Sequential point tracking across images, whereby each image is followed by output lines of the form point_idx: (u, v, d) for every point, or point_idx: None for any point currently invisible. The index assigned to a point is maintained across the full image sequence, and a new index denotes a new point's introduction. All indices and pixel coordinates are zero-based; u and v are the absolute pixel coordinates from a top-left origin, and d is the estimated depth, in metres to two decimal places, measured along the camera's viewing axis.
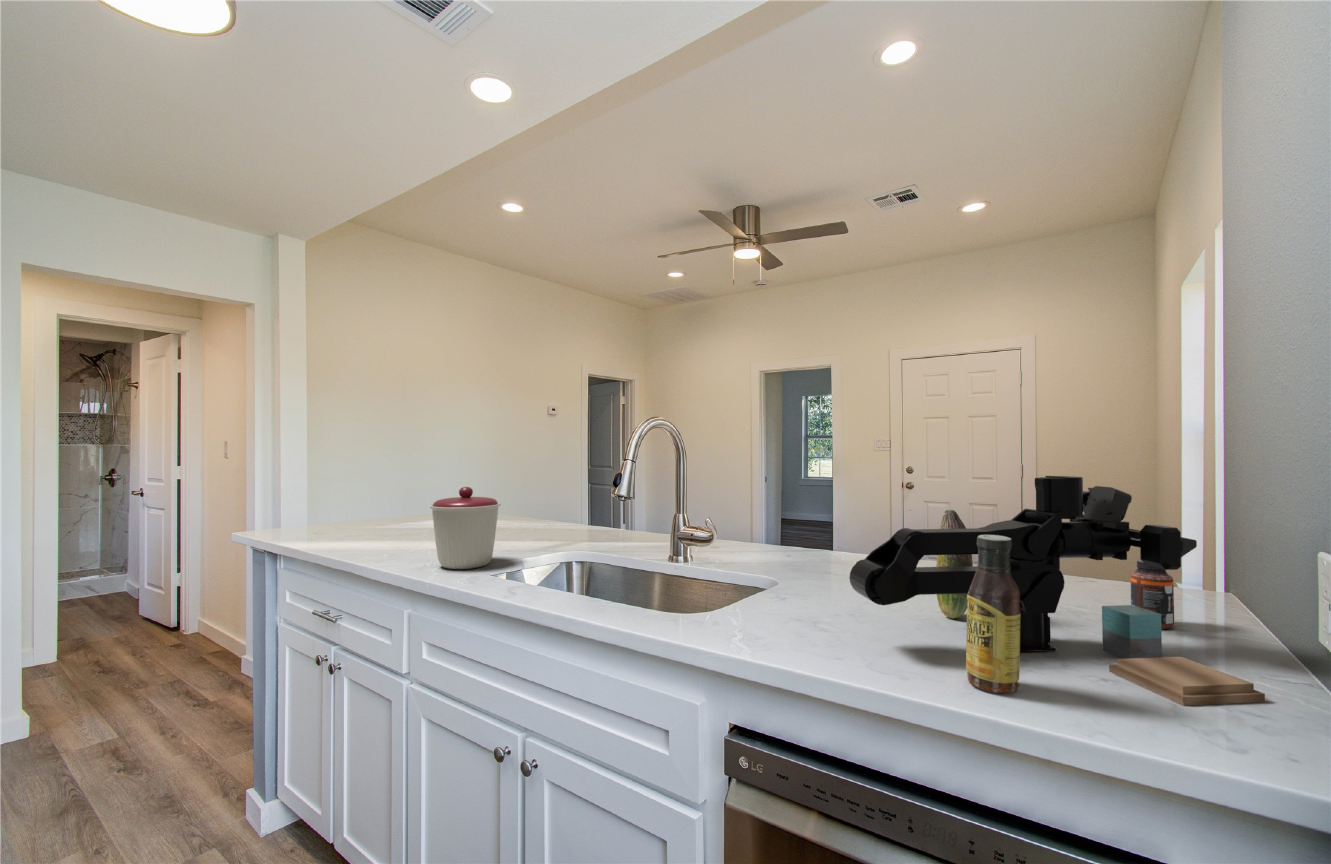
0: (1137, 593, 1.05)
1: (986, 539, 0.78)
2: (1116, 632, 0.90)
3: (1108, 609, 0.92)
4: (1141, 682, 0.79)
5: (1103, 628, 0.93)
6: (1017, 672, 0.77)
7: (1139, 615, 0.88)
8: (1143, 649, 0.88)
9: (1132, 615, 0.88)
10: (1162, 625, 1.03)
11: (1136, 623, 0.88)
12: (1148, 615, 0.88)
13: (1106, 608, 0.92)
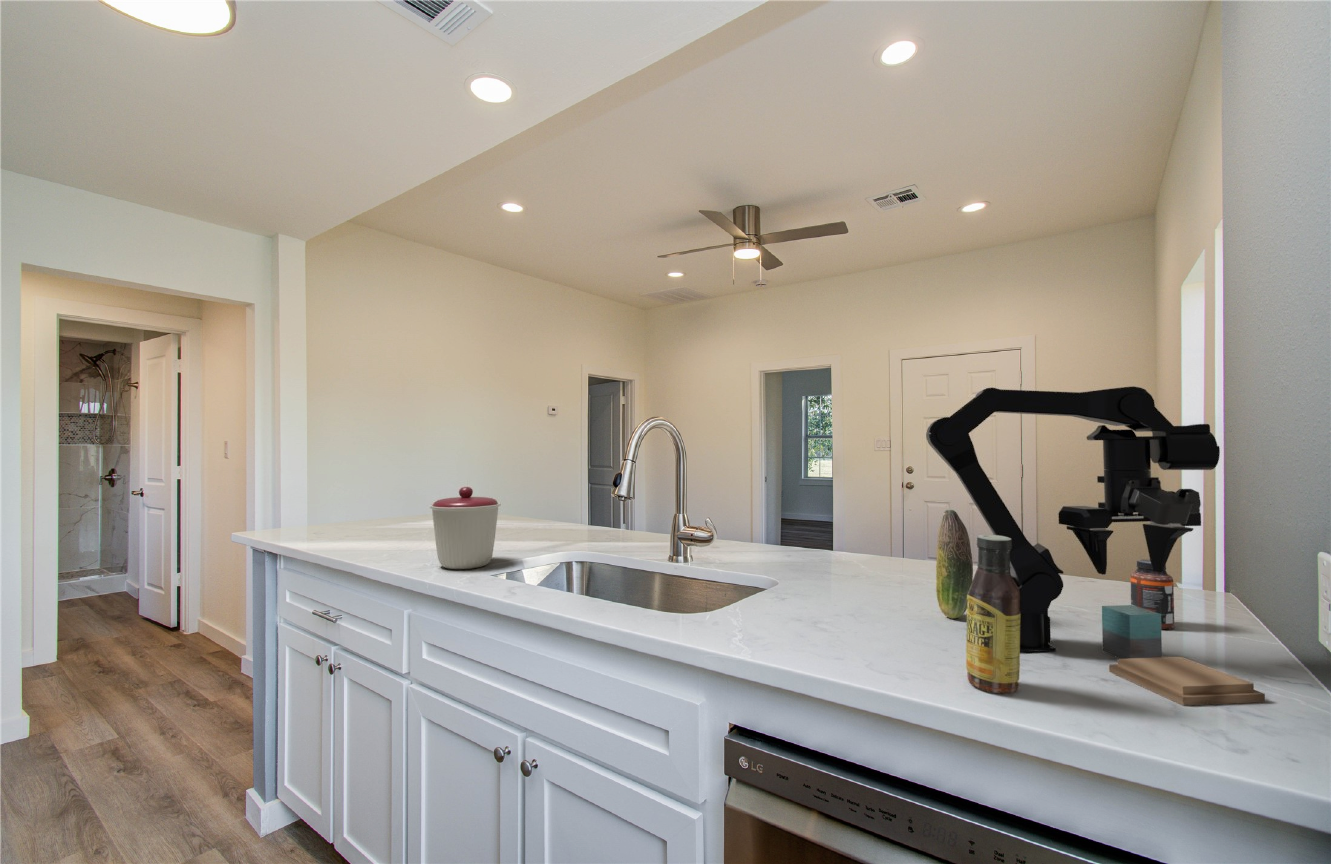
0: (1137, 593, 1.05)
1: (986, 539, 0.78)
2: (1116, 632, 0.90)
3: (1108, 609, 0.92)
4: (1141, 682, 0.79)
5: (1103, 628, 0.93)
6: (1017, 672, 0.77)
7: (1139, 615, 0.88)
8: (1143, 649, 0.88)
9: (1132, 615, 0.88)
10: (1162, 625, 1.03)
11: (1136, 623, 0.88)
12: (1148, 615, 0.88)
13: (1106, 608, 0.92)
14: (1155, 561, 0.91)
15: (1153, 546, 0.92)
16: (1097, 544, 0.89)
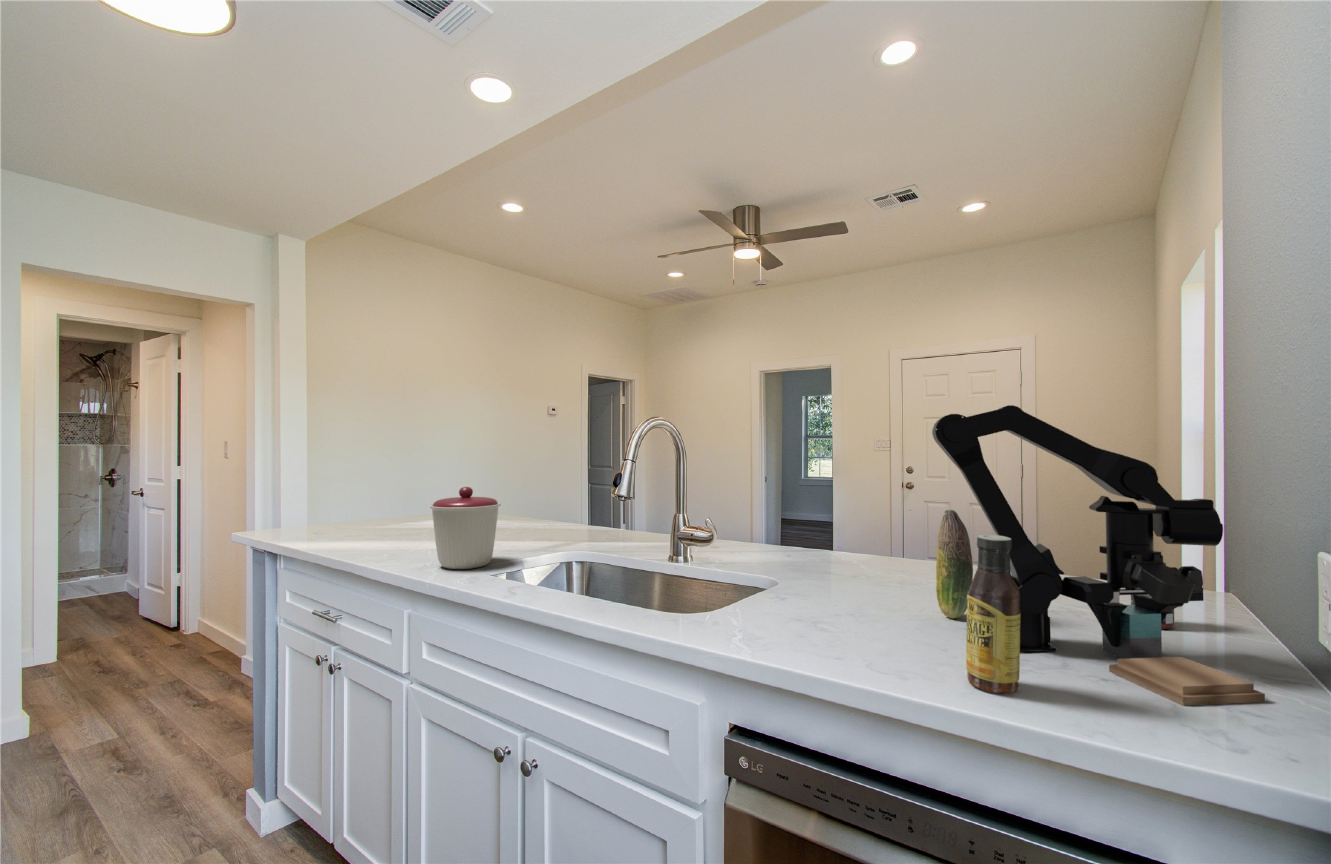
0: None
1: (986, 539, 0.78)
2: None
3: None
4: (1141, 682, 0.79)
5: None
6: (1017, 672, 0.77)
7: (1139, 615, 0.88)
8: (1143, 649, 0.88)
9: (1132, 615, 0.88)
10: (1162, 625, 1.03)
11: (1136, 623, 0.88)
12: (1148, 615, 0.88)
13: None
14: None
15: None
16: (1110, 617, 0.89)
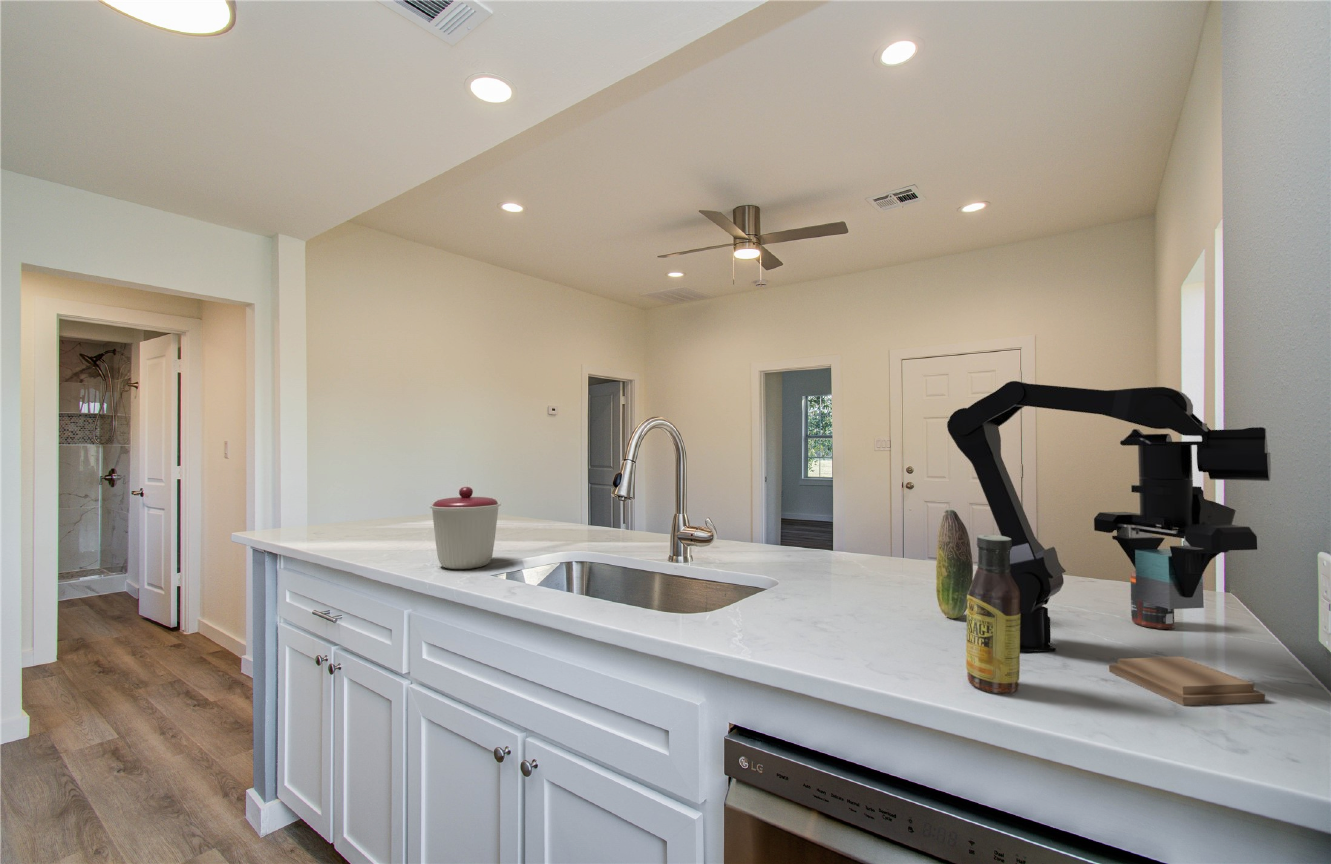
0: None
1: (986, 539, 0.78)
2: None
3: None
4: (1141, 682, 0.79)
5: (1168, 582, 0.80)
6: (1017, 672, 0.77)
7: None
8: None
9: None
10: (1162, 625, 1.03)
11: None
12: None
13: None
14: None
15: None
16: (1207, 563, 0.78)
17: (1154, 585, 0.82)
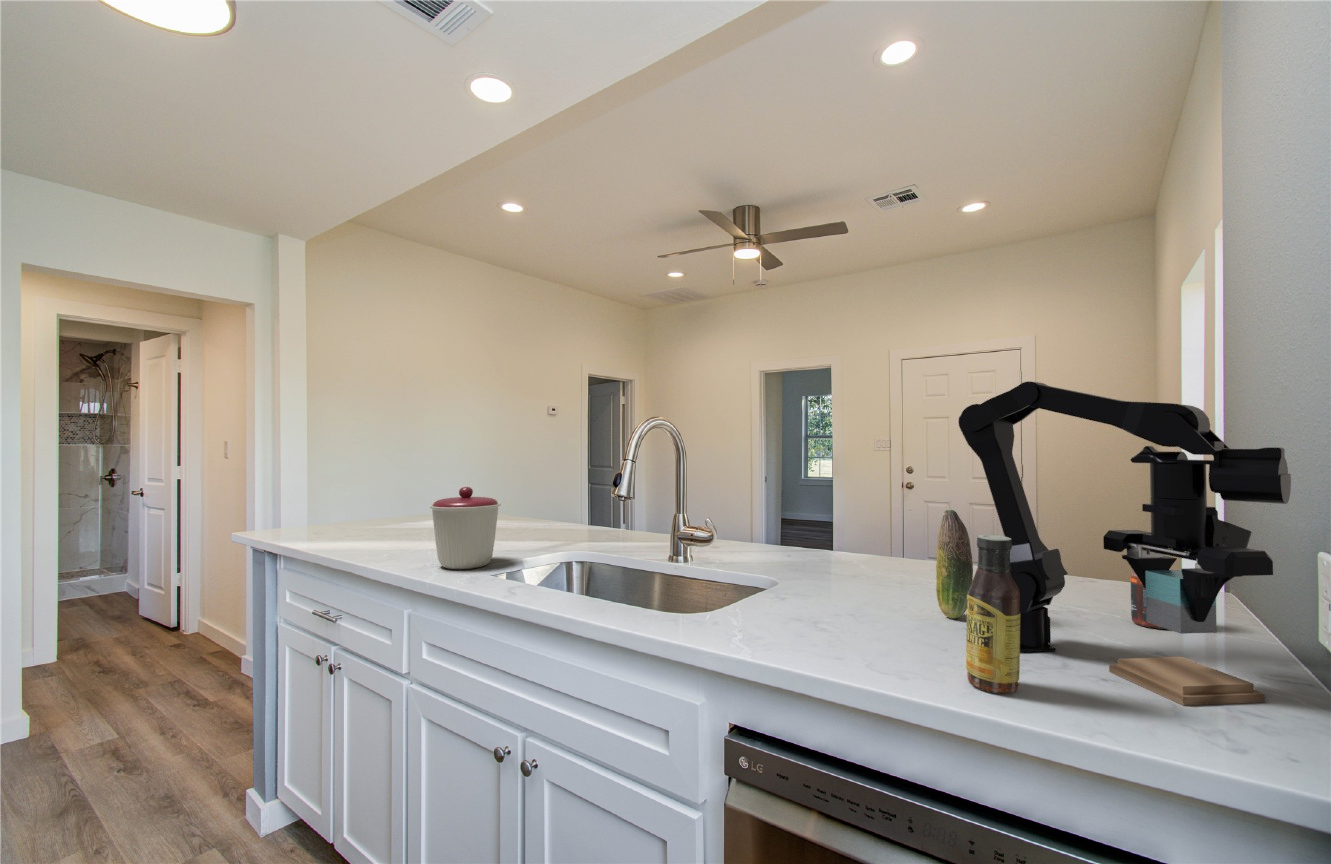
0: (1137, 593, 1.05)
1: (986, 539, 0.78)
2: None
3: None
4: (1141, 682, 0.79)
5: (1179, 605, 0.77)
6: (1017, 672, 0.77)
7: None
8: None
9: None
10: None
11: None
12: None
13: None
14: None
15: None
16: (1220, 587, 0.75)
17: (1164, 607, 0.79)
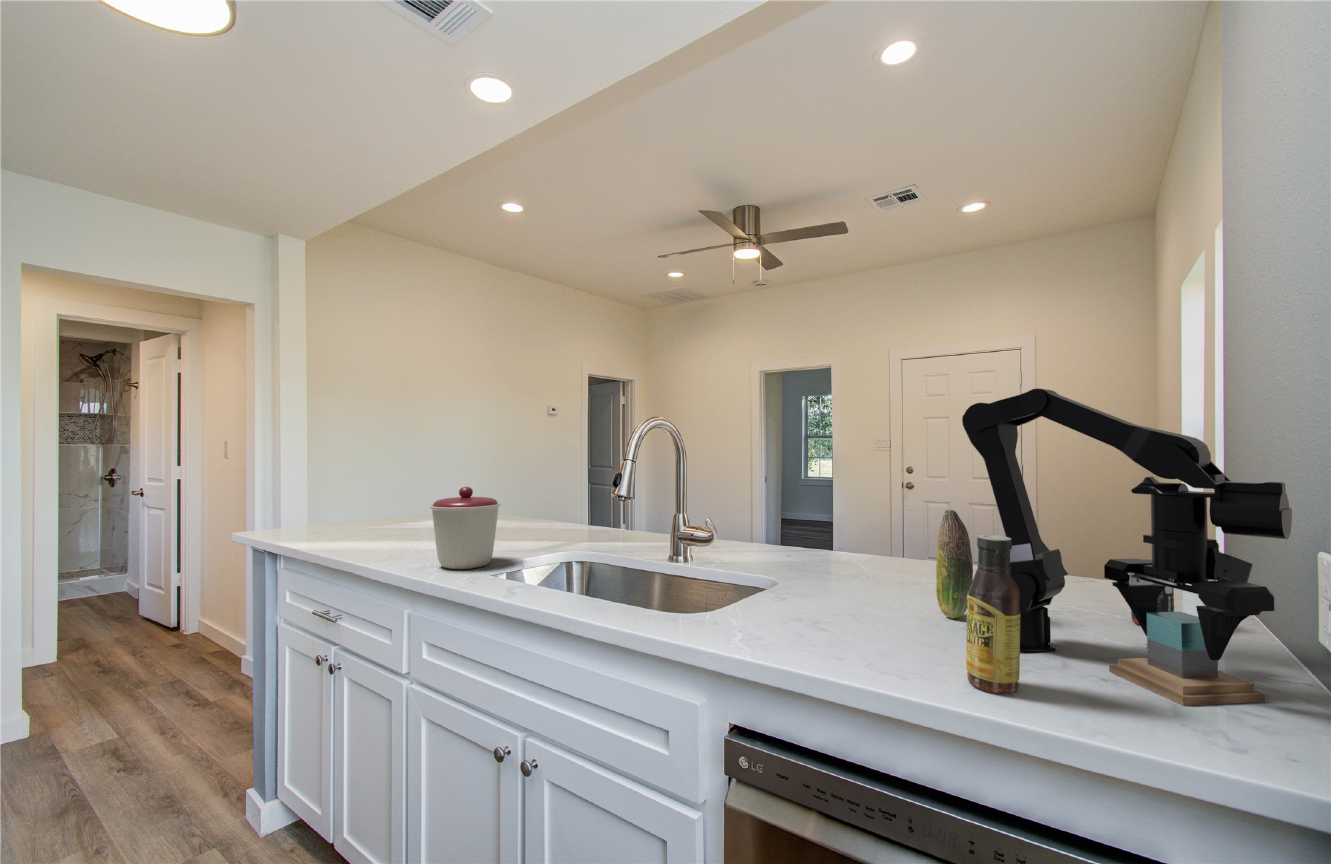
0: None
1: (986, 539, 0.78)
2: (1200, 648, 0.77)
3: (1190, 624, 0.77)
4: (1141, 682, 0.79)
5: (1181, 650, 0.77)
6: (1017, 672, 0.77)
7: None
8: None
9: None
10: None
11: None
12: None
13: (1187, 624, 0.77)
14: None
15: (1143, 609, 0.84)
16: (1236, 625, 0.73)
17: (1166, 651, 0.79)
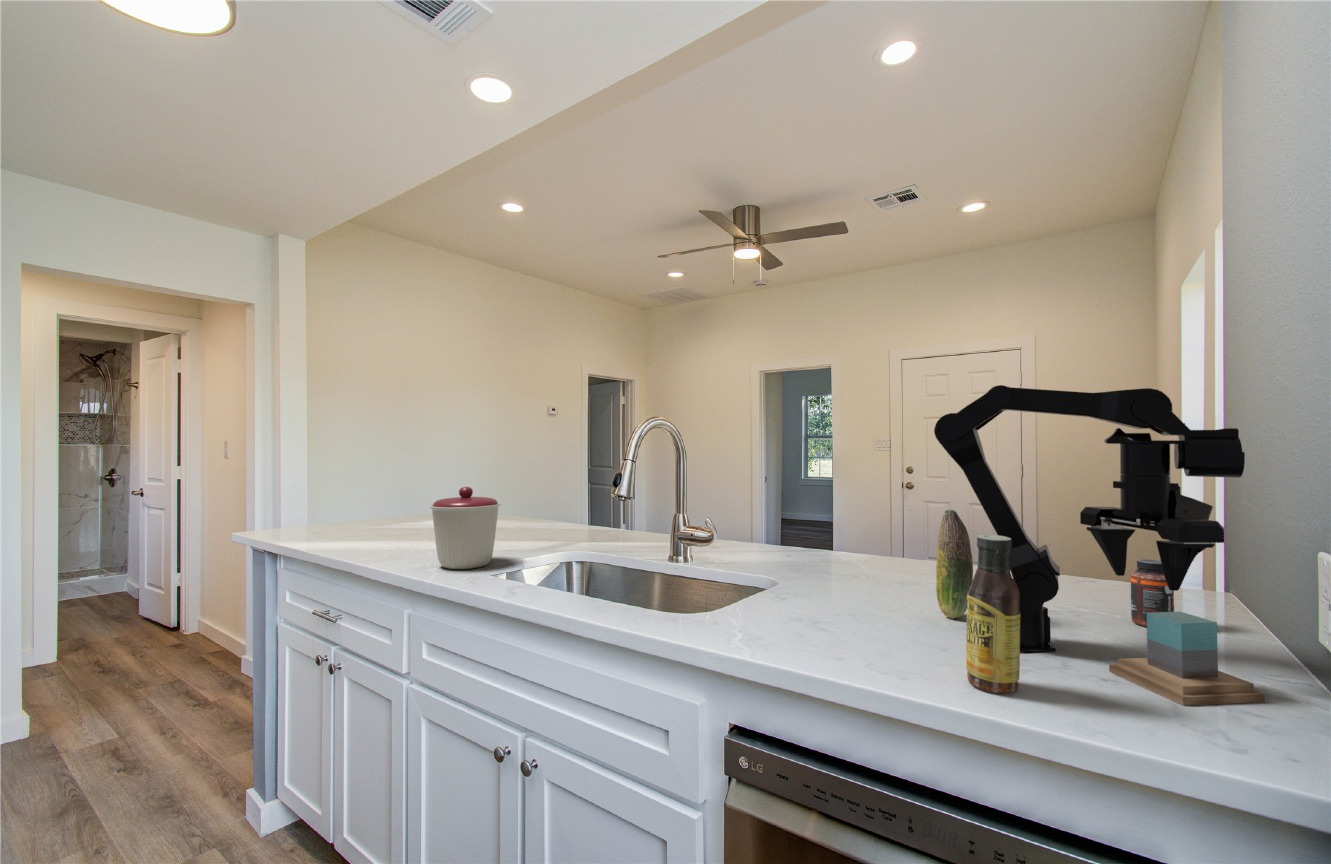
0: (1137, 593, 1.05)
1: (986, 539, 0.78)
2: (1200, 648, 0.77)
3: (1190, 624, 0.77)
4: (1141, 682, 0.79)
5: (1181, 650, 0.77)
6: (1017, 672, 0.77)
7: None
8: None
9: (1212, 622, 0.78)
10: None
11: None
12: None
13: (1187, 624, 0.77)
14: (1120, 565, 0.92)
15: (1113, 550, 0.92)
16: (1193, 558, 0.81)
17: (1166, 651, 0.79)
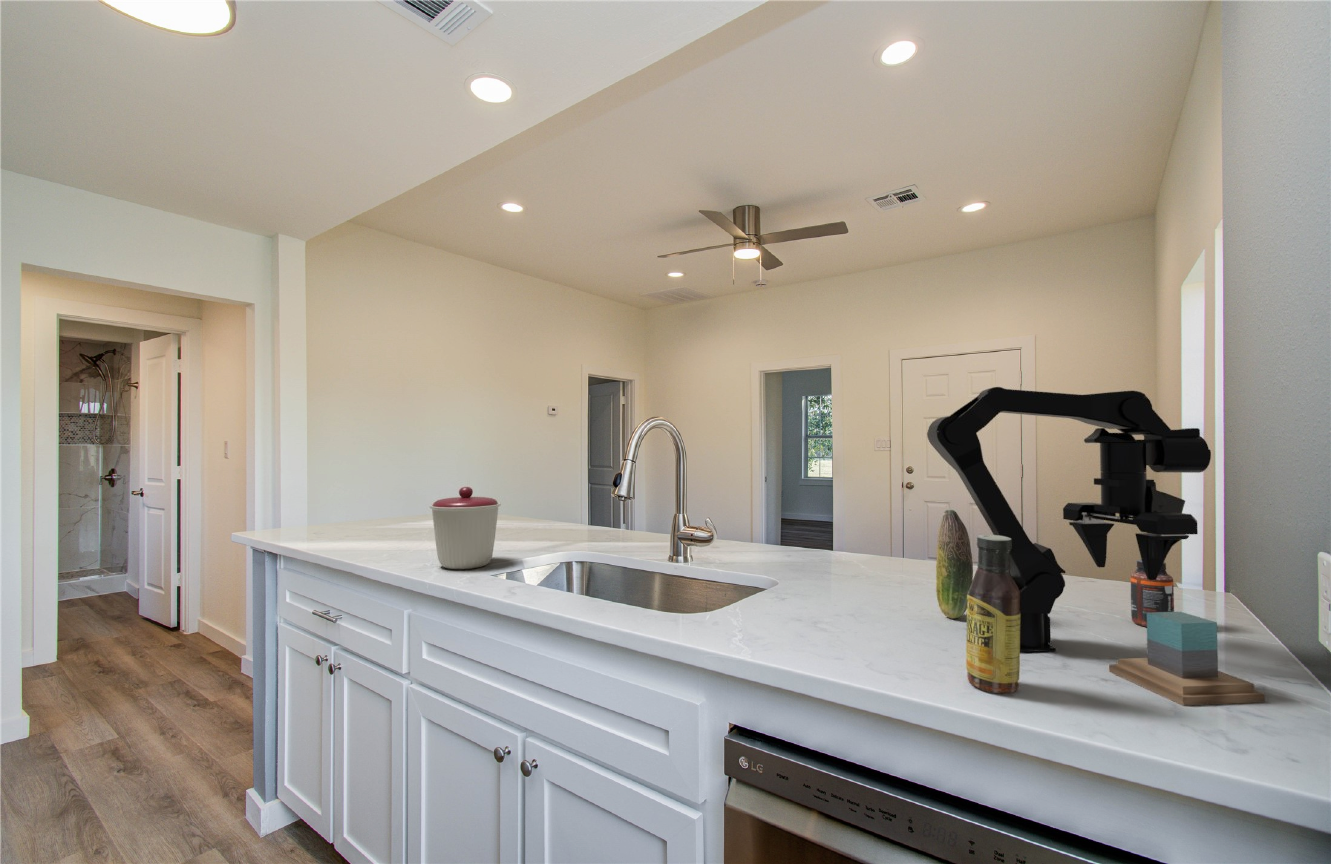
0: (1137, 593, 1.05)
1: (986, 539, 0.78)
2: (1200, 648, 0.77)
3: (1190, 624, 0.77)
4: (1141, 682, 0.79)
5: (1181, 650, 0.77)
6: (1017, 672, 0.77)
7: None
8: None
9: (1212, 622, 0.78)
10: None
11: None
12: None
13: (1187, 624, 0.77)
14: (1101, 557, 0.97)
15: (1094, 543, 0.98)
16: (1169, 549, 0.87)
17: (1166, 651, 0.79)
